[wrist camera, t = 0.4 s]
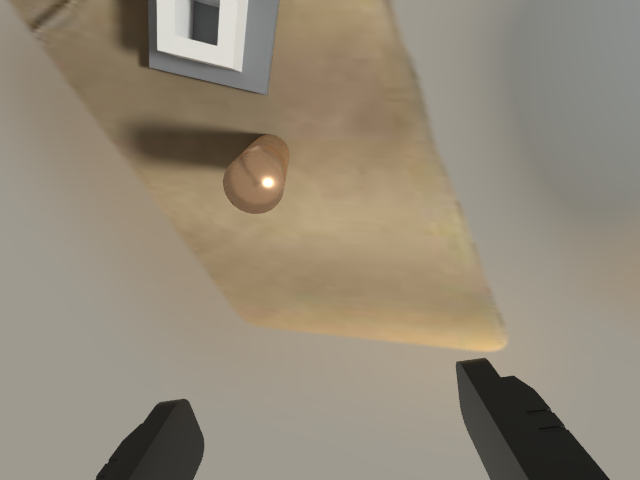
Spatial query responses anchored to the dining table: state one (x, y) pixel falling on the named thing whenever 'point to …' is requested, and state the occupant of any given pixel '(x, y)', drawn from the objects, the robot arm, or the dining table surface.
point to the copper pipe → (258, 175)
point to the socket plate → (214, 40)
